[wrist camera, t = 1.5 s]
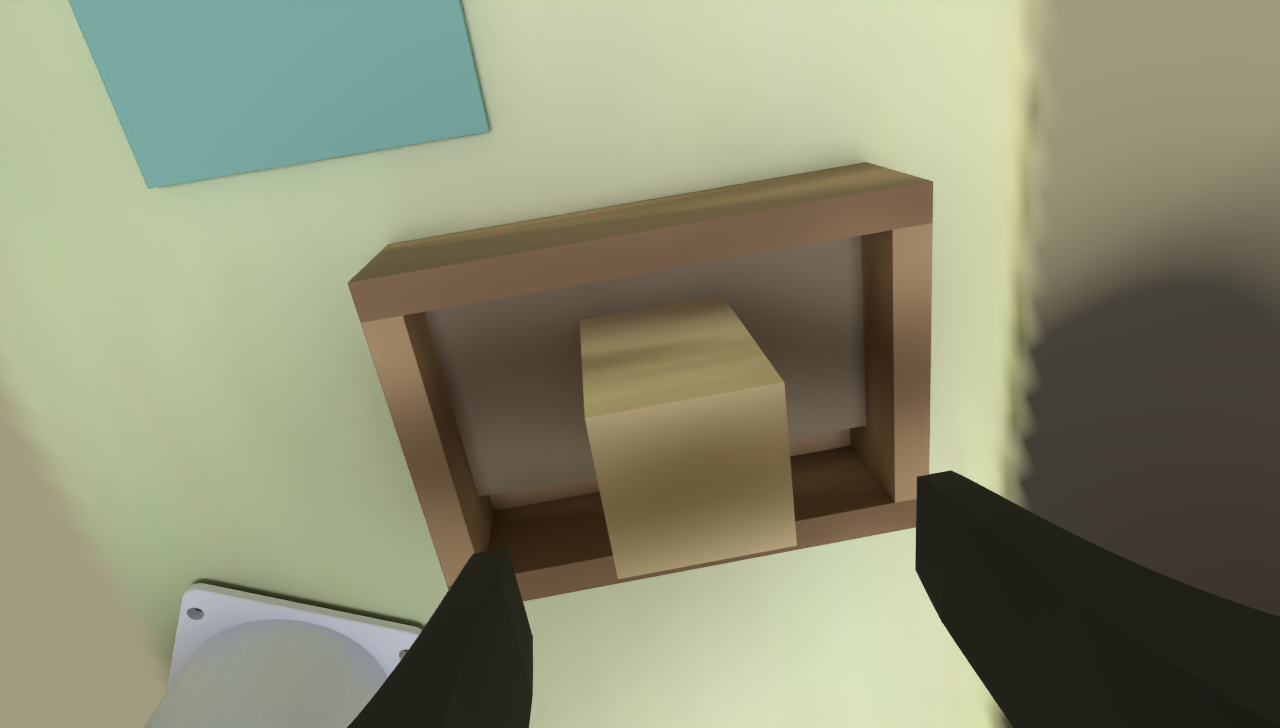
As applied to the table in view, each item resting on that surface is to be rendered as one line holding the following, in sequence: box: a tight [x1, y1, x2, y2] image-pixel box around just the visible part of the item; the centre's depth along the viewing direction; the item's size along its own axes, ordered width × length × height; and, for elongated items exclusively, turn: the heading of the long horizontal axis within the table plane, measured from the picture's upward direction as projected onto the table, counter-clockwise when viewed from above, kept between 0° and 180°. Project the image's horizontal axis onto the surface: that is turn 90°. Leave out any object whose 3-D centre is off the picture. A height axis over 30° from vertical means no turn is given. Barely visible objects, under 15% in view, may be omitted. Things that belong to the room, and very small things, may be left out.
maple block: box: [580, 295, 797, 579], centre depth 17 cm, size 4×4×6 cm
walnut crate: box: [348, 163, 933, 601], centre depth 20 cm, size 10×14×4 cm
